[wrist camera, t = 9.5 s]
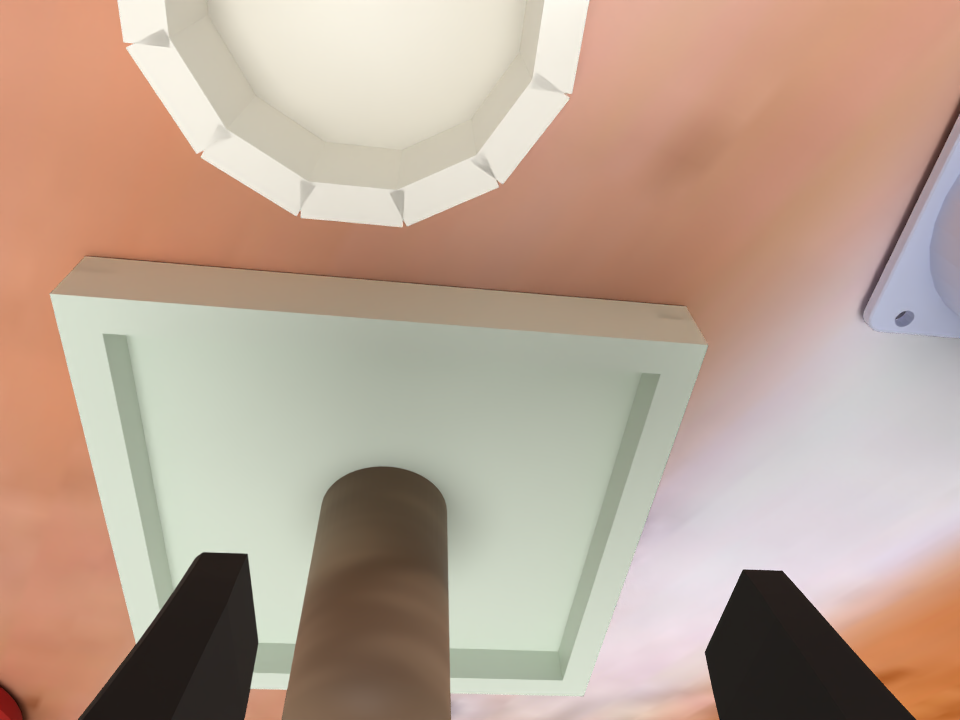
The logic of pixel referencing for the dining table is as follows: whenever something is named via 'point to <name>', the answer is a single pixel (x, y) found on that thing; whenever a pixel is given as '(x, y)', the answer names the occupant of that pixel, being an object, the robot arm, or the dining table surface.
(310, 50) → the bowl
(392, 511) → the pin
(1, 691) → the canned food
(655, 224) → the dining table surface
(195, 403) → the tray
